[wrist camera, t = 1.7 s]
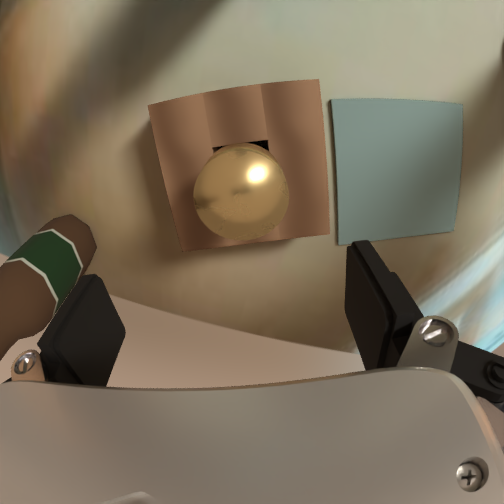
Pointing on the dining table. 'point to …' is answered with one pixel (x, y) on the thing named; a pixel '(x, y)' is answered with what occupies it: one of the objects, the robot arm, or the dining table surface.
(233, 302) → the dining table surface
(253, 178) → the pin
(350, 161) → the mat
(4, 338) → the beer bottle
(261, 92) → the block
